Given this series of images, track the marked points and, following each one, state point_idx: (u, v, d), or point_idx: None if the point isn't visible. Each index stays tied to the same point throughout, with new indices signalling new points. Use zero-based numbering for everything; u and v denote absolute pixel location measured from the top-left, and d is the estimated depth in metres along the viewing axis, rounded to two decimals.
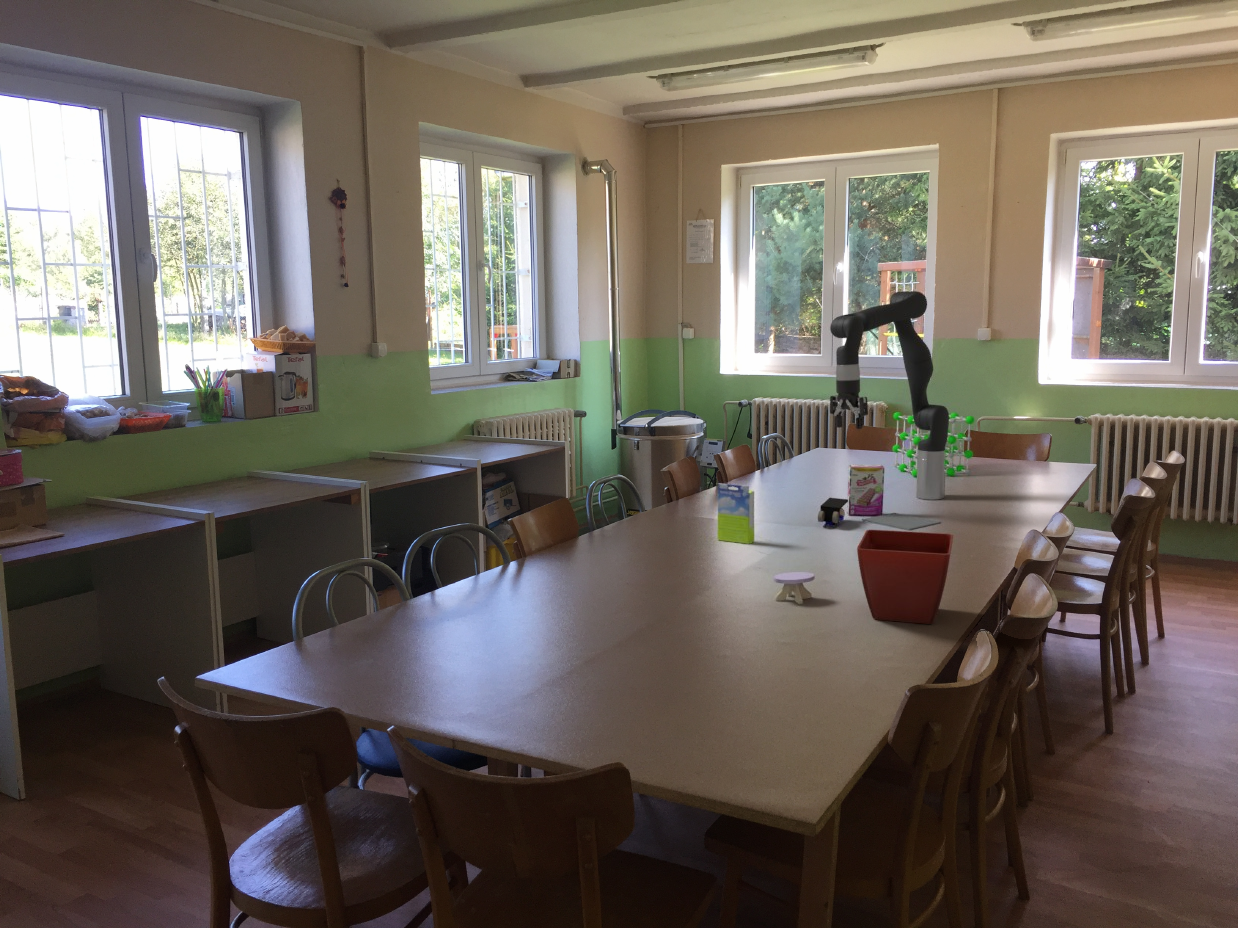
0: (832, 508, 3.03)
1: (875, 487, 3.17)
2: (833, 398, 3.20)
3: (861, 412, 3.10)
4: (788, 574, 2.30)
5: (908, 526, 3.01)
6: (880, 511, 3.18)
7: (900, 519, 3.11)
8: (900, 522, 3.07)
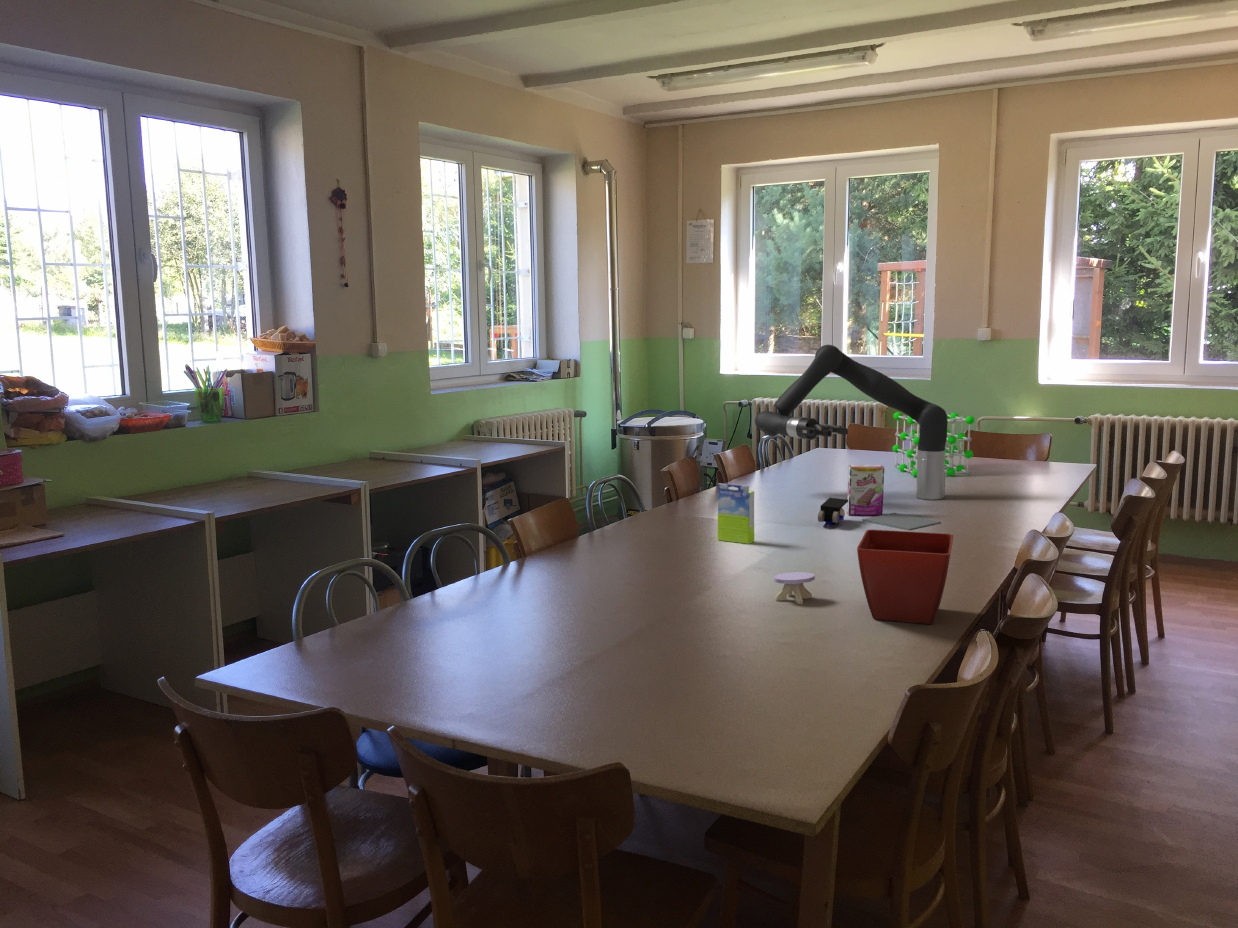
0: (832, 508, 3.03)
1: (875, 487, 3.17)
2: None
3: None
4: (788, 574, 2.30)
5: (908, 526, 3.01)
6: (880, 511, 3.18)
7: (900, 519, 3.11)
8: (900, 522, 3.07)
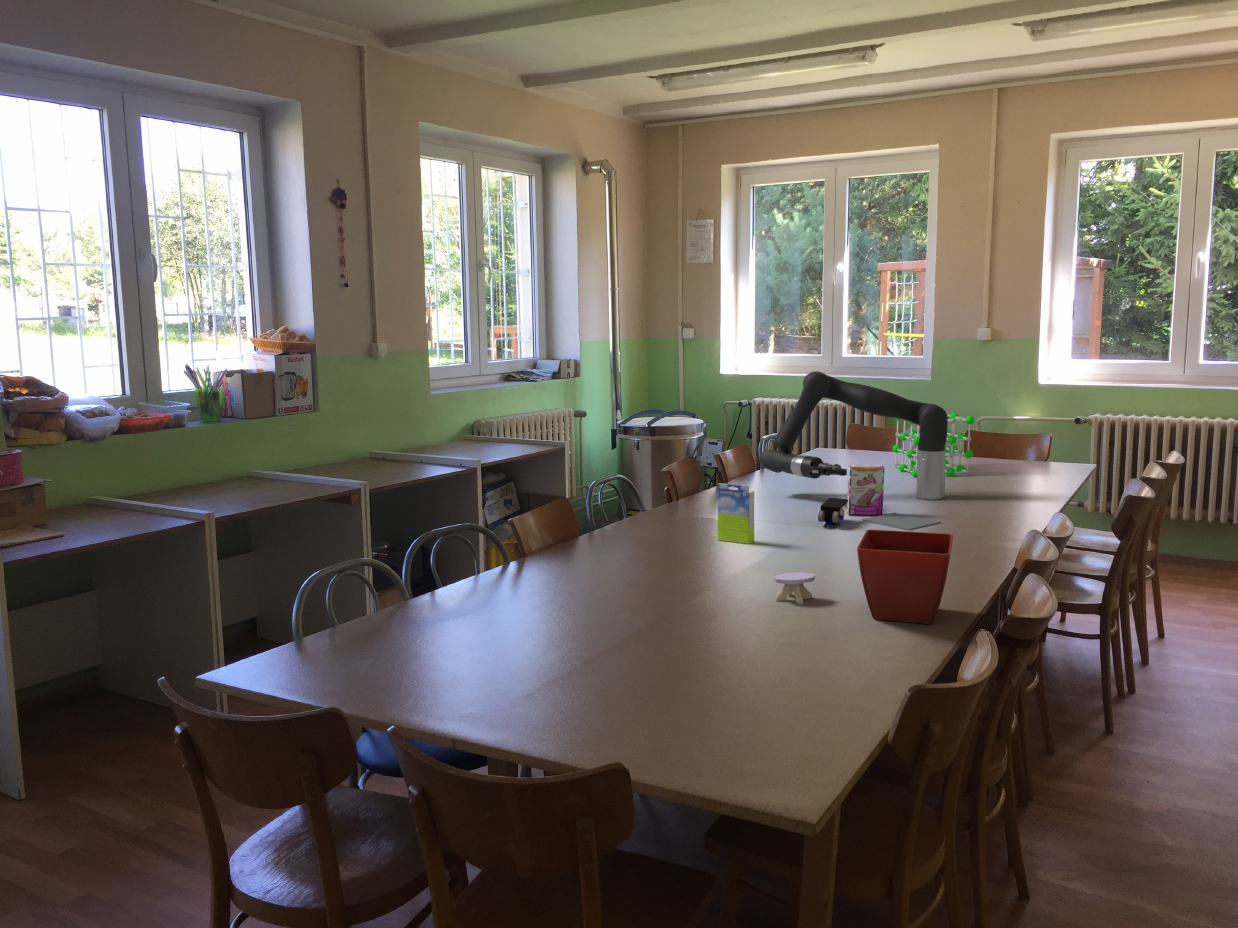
0: (832, 508, 3.03)
1: (875, 487, 3.17)
2: None
3: None
4: (788, 574, 2.30)
5: (908, 526, 3.01)
6: (880, 511, 3.18)
7: (900, 519, 3.11)
8: (900, 522, 3.07)
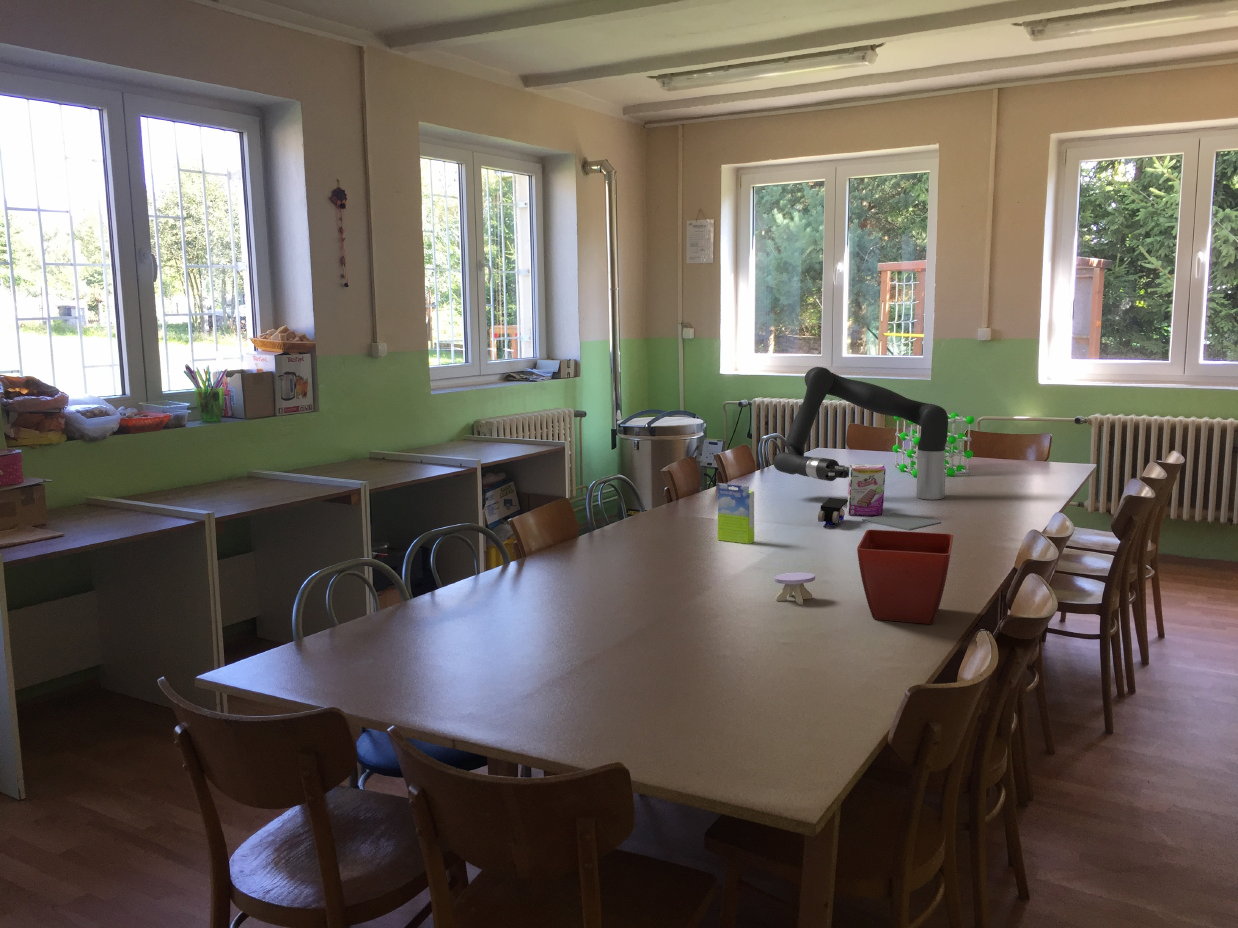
0: (832, 508, 3.03)
1: (875, 488, 3.16)
2: None
3: None
4: (789, 574, 2.30)
5: (908, 526, 3.01)
6: (880, 511, 3.18)
7: (900, 519, 3.11)
8: (900, 522, 3.07)
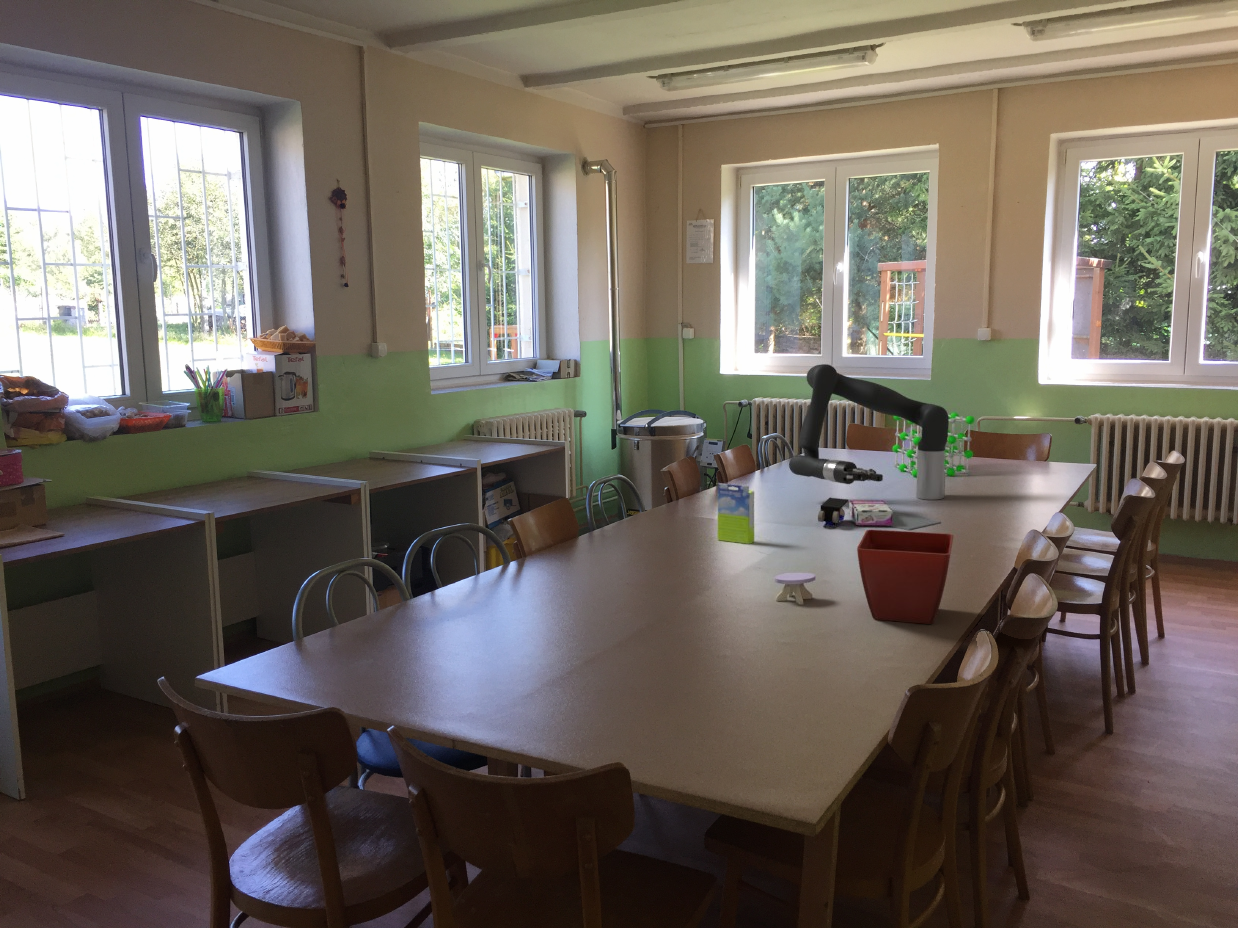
0: (832, 508, 3.03)
1: None
2: None
3: None
4: (789, 574, 2.30)
5: (908, 526, 3.01)
6: None
7: (900, 519, 3.11)
8: (900, 522, 3.07)
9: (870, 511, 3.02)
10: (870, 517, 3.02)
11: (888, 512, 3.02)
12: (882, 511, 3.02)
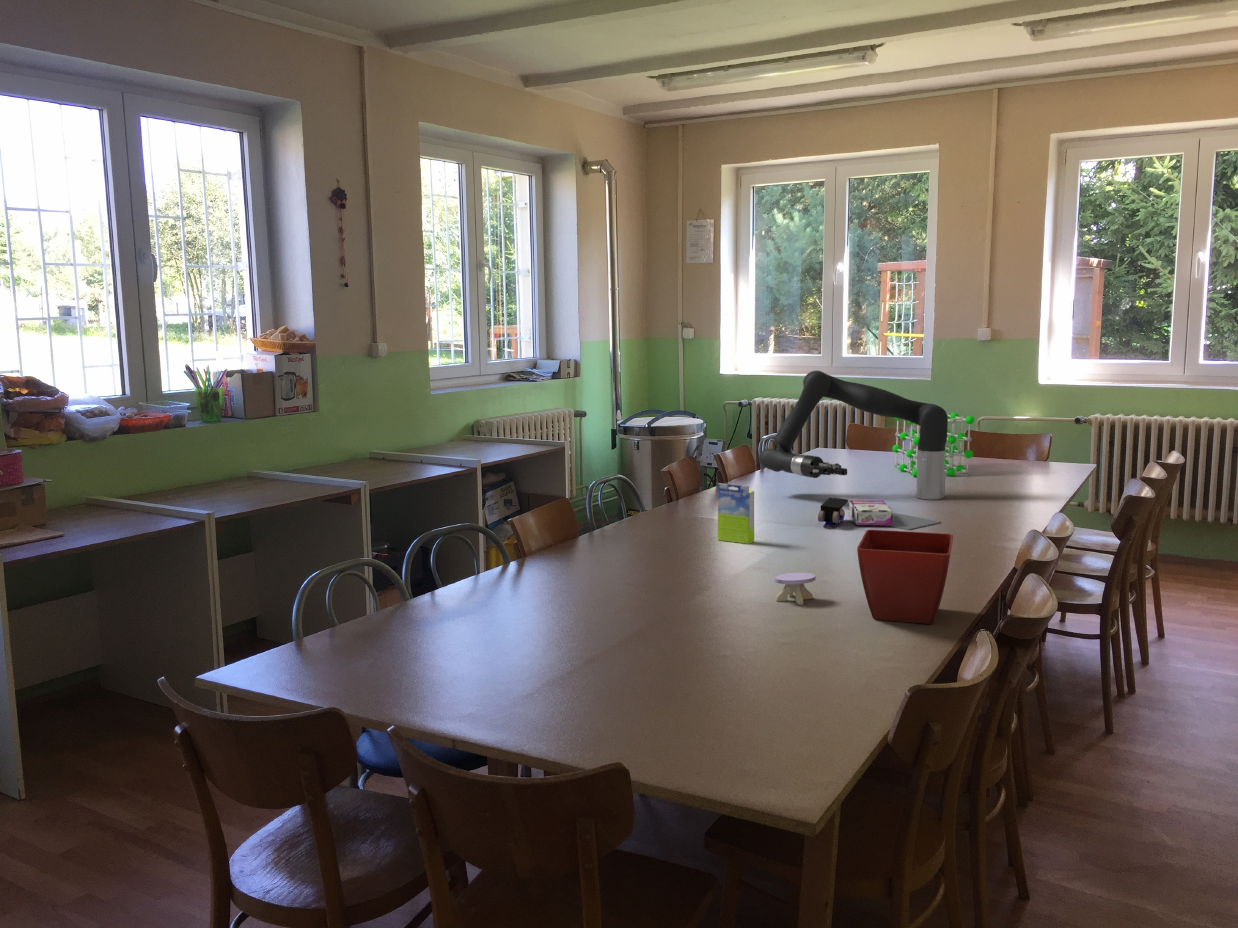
0: (832, 508, 3.03)
1: None
2: None
3: None
4: (789, 575, 2.30)
5: (908, 526, 3.01)
6: None
7: (900, 519, 3.11)
8: (900, 522, 3.07)
9: (870, 511, 3.02)
10: (870, 517, 3.02)
11: (888, 512, 3.02)
12: (882, 511, 3.02)
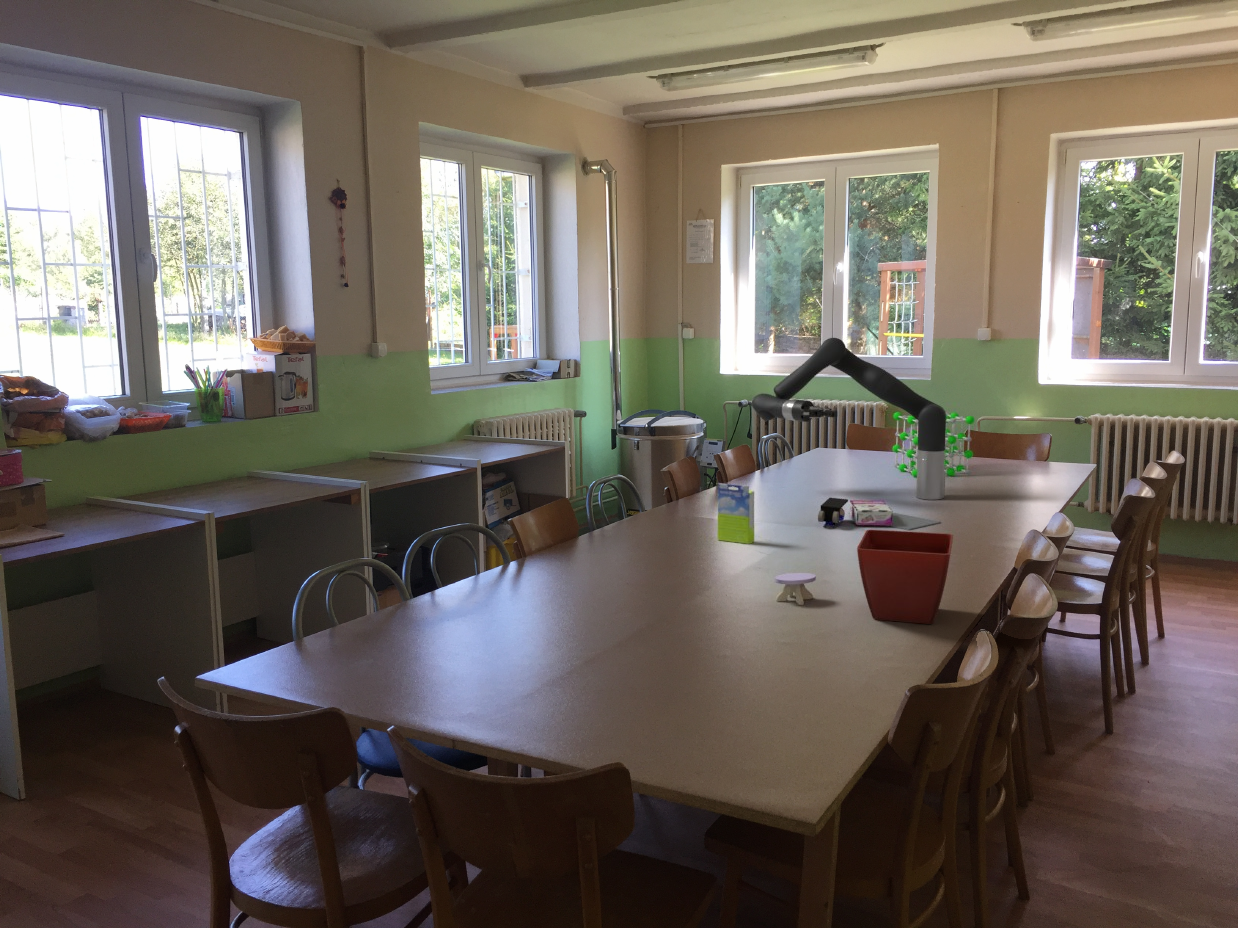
0: (832, 508, 3.03)
1: None
2: None
3: None
4: (789, 575, 2.30)
5: (908, 526, 3.01)
6: None
7: (900, 519, 3.11)
8: (900, 522, 3.07)
9: (870, 511, 3.02)
10: (870, 517, 3.02)
11: (888, 512, 3.02)
12: (882, 511, 3.02)
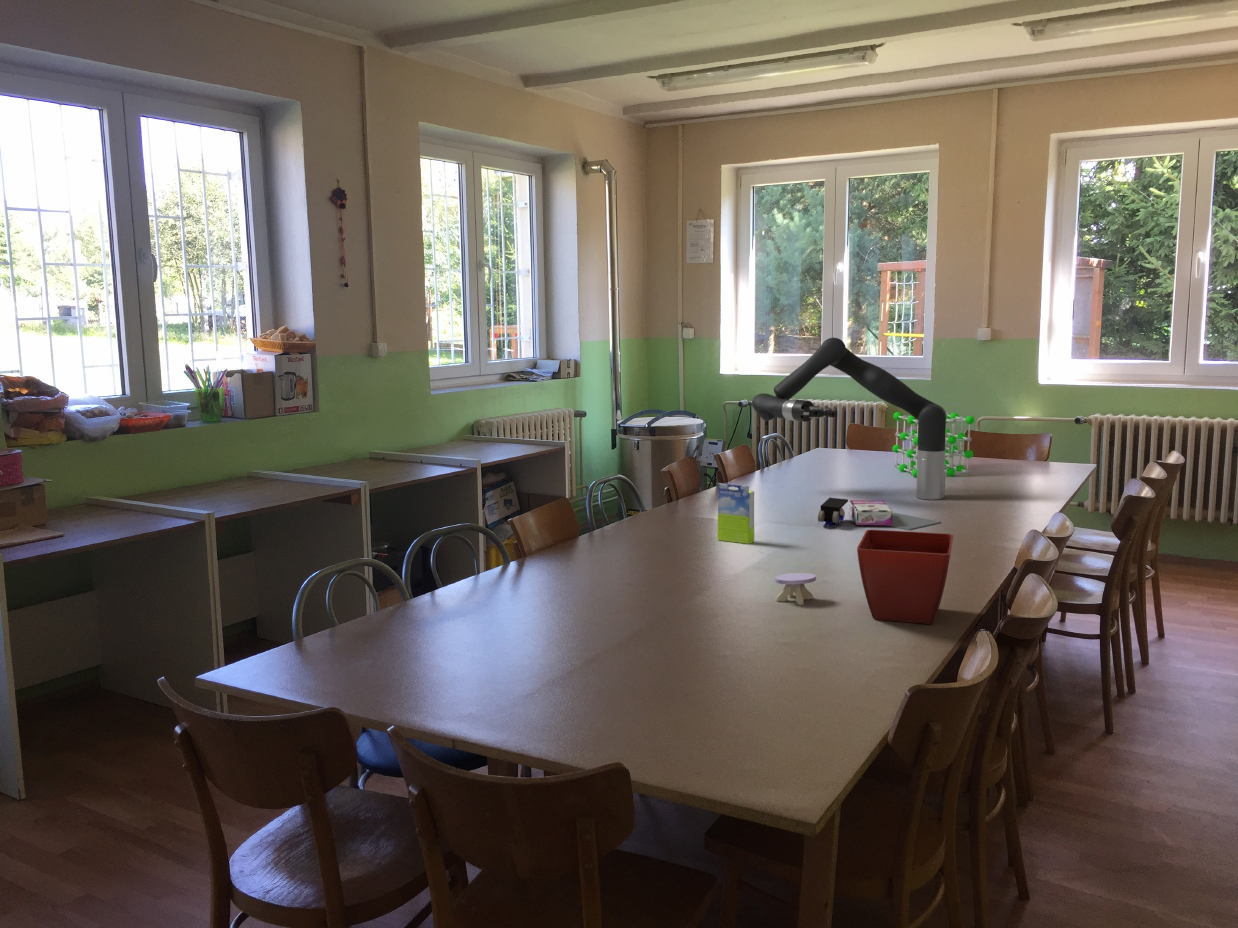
0: (832, 508, 3.03)
1: None
2: None
3: None
4: (789, 575, 2.30)
5: (908, 526, 3.01)
6: None
7: (900, 519, 3.11)
8: (900, 522, 3.07)
9: (870, 511, 3.02)
10: (870, 517, 3.02)
11: (888, 512, 3.02)
12: (882, 511, 3.02)
